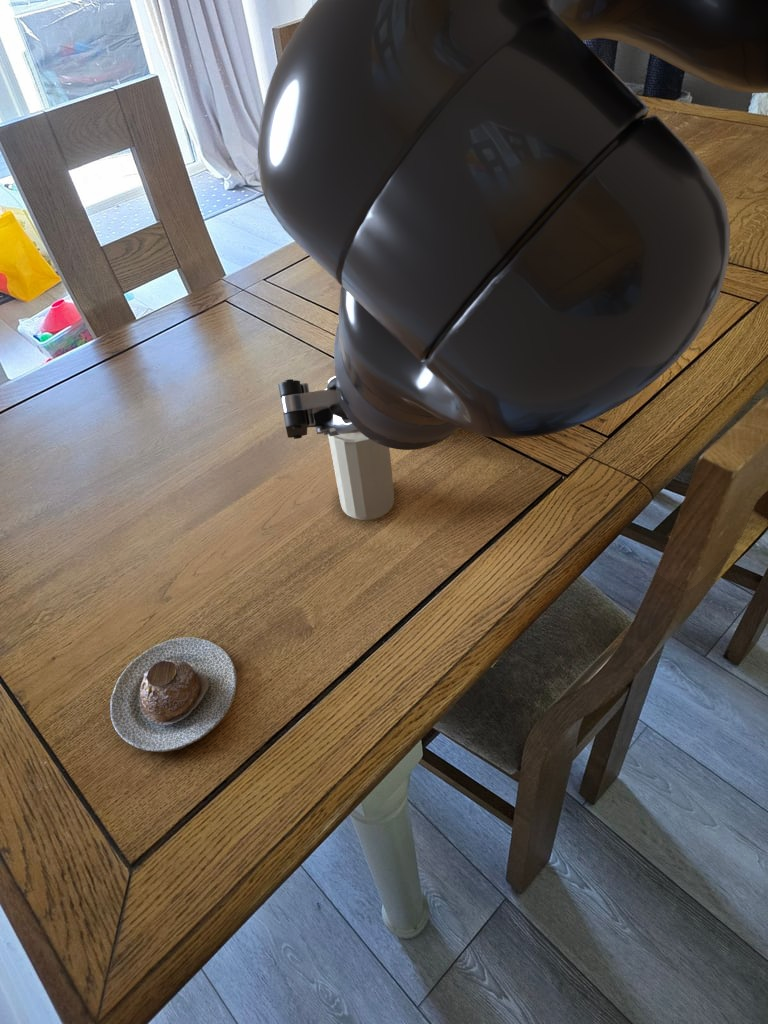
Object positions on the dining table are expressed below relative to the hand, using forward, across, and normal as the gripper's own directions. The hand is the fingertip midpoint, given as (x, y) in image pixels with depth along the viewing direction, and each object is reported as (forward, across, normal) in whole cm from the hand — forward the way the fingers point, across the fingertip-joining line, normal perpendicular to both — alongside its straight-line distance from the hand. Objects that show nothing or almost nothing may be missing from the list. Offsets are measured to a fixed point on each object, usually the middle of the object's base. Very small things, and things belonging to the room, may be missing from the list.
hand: (392, 410), depth 48 cm
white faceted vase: (+35, +2, +6) cm, 35 cm away
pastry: (+19, +23, +21) cm, 37 cm away
